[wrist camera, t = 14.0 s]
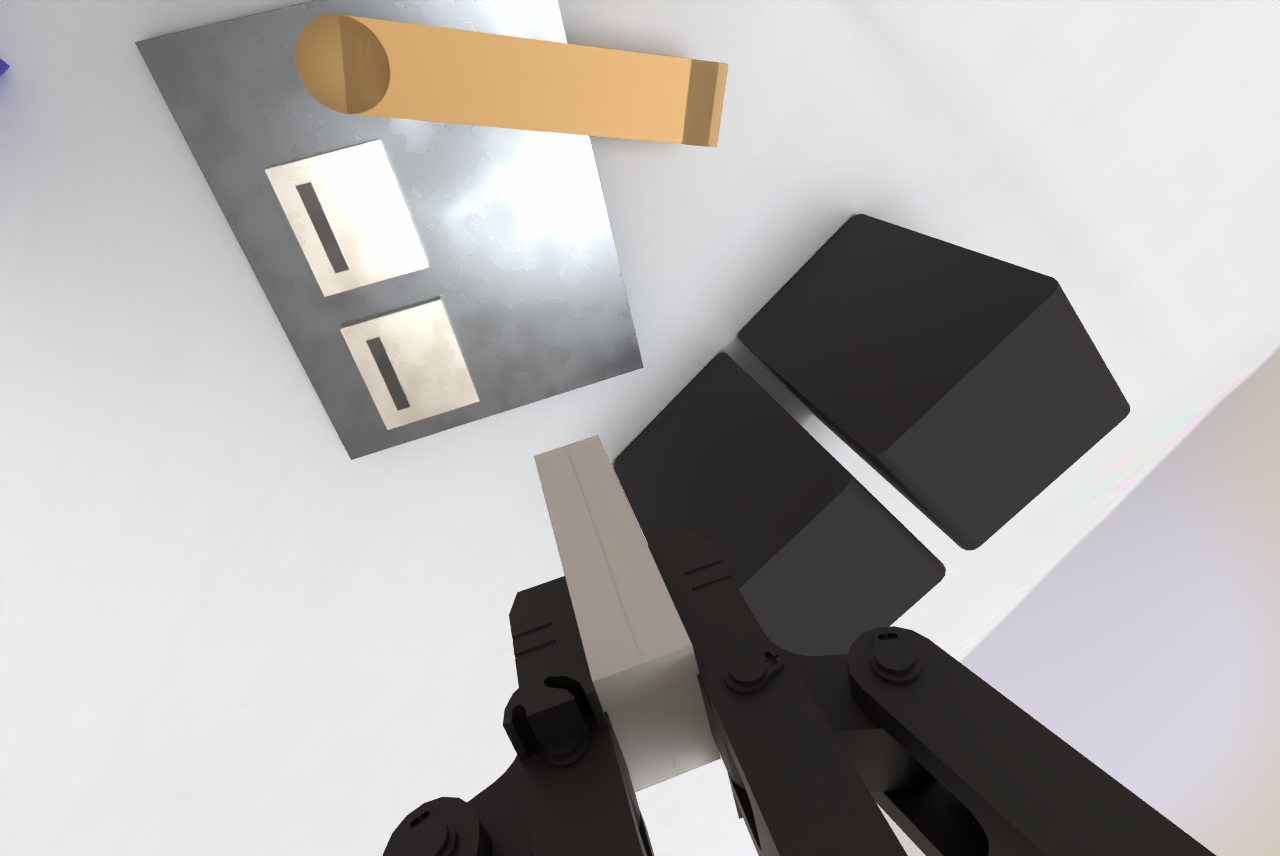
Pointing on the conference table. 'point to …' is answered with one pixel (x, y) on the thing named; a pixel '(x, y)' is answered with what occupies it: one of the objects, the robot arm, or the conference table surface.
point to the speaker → (873, 428)
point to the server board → (404, 228)
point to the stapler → (3, 67)
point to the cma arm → (507, 81)
